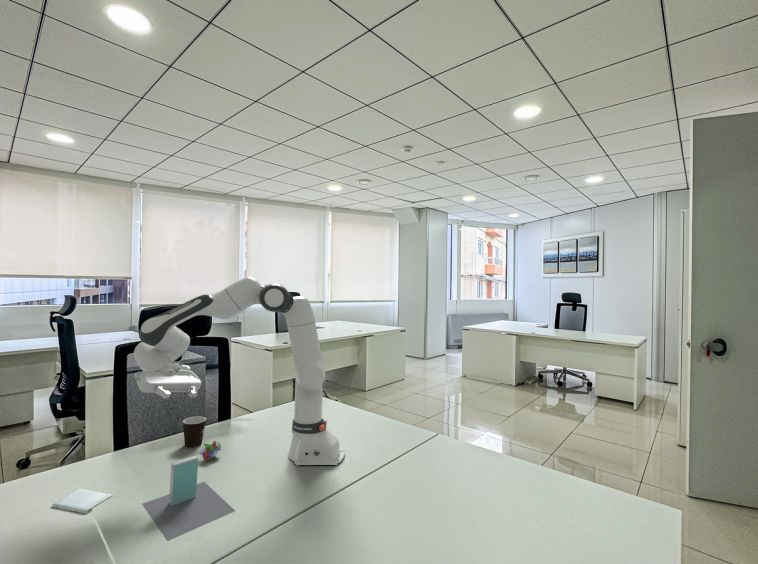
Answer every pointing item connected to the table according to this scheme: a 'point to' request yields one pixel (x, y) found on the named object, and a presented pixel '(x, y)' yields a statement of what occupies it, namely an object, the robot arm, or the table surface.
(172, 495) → the tile
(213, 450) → the geometric puzzle
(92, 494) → the hard drive
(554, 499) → the table surface
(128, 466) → the table surface
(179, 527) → the mat
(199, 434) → the coffee mug
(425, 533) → the table surface
